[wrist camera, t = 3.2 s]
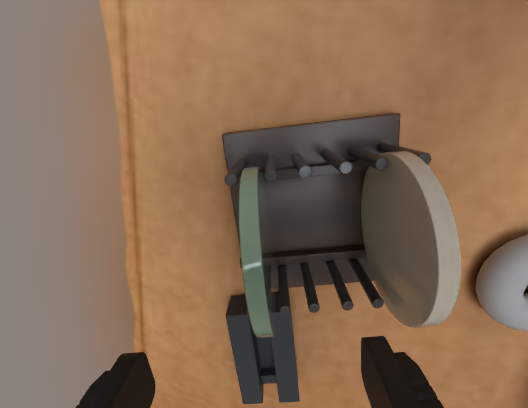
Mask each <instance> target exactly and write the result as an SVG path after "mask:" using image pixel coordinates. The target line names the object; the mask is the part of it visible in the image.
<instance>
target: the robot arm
mask: <svg viewBox="0 0 528 408" xmlns="http://www.w3.org/2000/svg"><path fill="white" fill-rule="evenodd" d="M361 372H362V378H363V383H364V387H365V390H366V393H367V396H368V399H369V401H370V404H371V407H372V408H444V407H443V406H442V404H441V402H440V401H439V400H438V399H437V396H436V394H435V392H434V391H433V389H432V387H431V386H430V385H429V382H428V381H427V379H426V377H425V376H424V374H423V372H422V371H421V369H420V367H419V366H418V365H417V364H416V363H415V362H414V361H413V360H412V359H411V358H410V357H409V356H408V355H406V354H405V353H404V352H399V353H393V351H392V349H391V347H390V345H389V343H388V341H387V340H386V338H385V337H384V336H378V337H364V338H362V339H361ZM154 394H155V380H154V377H153V374H152V371H151V368H150V365H149V362H148V359H147V356H146V354H145V353H144V352H138V353H124V354H122V355H120V356H119V358H118V359H117V361H116V362H115V364H114V366H113V367H112V368H111V370H110V371H105V372H104V373H103V374H102V375H101V376H100V377H99V378H98V379H97V380H96V381H95V382H94V383H93V384H92V385H91V386H90V387H89V389H88V390H87V392H86V393H85V395H84V396H83V398H82V399H81V401H80V404H79V405H77V406H76V408H150V406H151V404H152V401H153V398H154Z"/></svg>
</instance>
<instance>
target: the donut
mask: <svg viewBox="0 0 528 408" xmlns="http://www.w3.org/2000/svg"><path fill="white" fill-rule="evenodd" d="M527 285H528V235H524V236H522V237H519V238H516V239H514V240H511V241H509V242H507V243H505V244H504V245H502V246H501V247H499V248H498V249H496V250H495V251H494V252H493V253H492V254H491V255H490V256H489V257H488V258H487V259H486V260H485V262H484V263H483V265H482V267H481V269H480V271H479V273H478V275H477V280H476V293H477V296H478V299H479V302H480V305H481V306H482V307H483V309H484V310H485V311H486V312H487V313H488V314H489V315H490V316H491V318H493V319H494V320H496V321H497V322H499V323H501V324H503V325H505V326H507V327H510V328H513V329H516V330H523V331H528V293H526V294H523V293H524V291H525V289H526V287H527Z"/></svg>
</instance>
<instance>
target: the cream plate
mask: <svg viewBox="0 0 528 408" xmlns="http://www.w3.org/2000/svg"><path fill="white" fill-rule="evenodd" d="M379 156H382V157H385V158H387V160H388V167H387V168H386V169H384V170H381V171H380V170H377V169H375V168H373V167H371V166H369V167H368V170H367V172H366V175H365V179H364V183H363V189H362V198H361V222H362V233H363V240H364V245H365V251H366V255H367V259H368V263H369V267H370V270H371V273H372V276H373V279H374V282H375V284H376V286H377V289H378V291H379V293H380V295H381V297H382V299H383V301H384V303H385V304H386V306H387V307H388V309H389V310H390V312H391V313H392V314H393V315H394V317H395V318H397V319H398V320H399V321H400V322H401V323H403V324H404V325H406V326H409V327H414V328H418V327H432V326H437V325H439V324H441V323H442V322H444V321H445V320H446V319H447V318H448V317H449V315H450V313H451V312H452V310H453V308H454V306H455V303H456V300H457V297H458V292H459V287H460V278H461V254H460V245H459V238H458V233H457V227H456V223H455V220H454V216H453V212H452V209H451V207H450V204H449V201H448V199H447V196H446V194H445V192H444V190H443V188H442V186H441V184H440V182H439V180H438V179H437V177H436V175H435V174H434V172H433V171H432V170H431V169H430V167H429V166H428V165H427V164H426V163H425V162H424V161H423V160H422V159H421V158H419V157H418V156H416V155H415V154H413V153H410V152H408V151H394V152H385V153H381V154H379Z"/></svg>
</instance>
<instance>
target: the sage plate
mask: <svg viewBox="0 0 528 408" xmlns="http://www.w3.org/2000/svg"><path fill="white" fill-rule="evenodd" d="M239 233H240V249H241V262H242V272H243V281H244V289H245V296H246V302H247V308H248V313H249V318H250V322H251V325H252V329H253V331H254V334H255V336H256V337H258V338H269V337H274V336H275V331H276V299H275V281H274V266H273V254H272V243H271V233H270V223H269V215H268V207H267V199H266V192H265V186H264V180H263V175H262V172H261V169H260V167H258V166H256V167H247V168H244V169H243V171H242V174H241V179H240V188H239Z"/></svg>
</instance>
